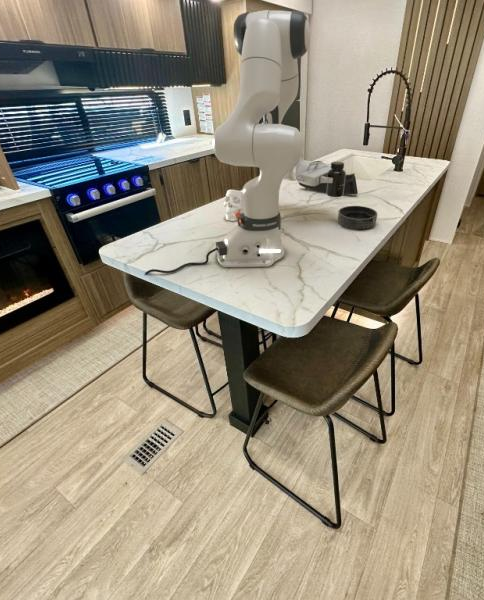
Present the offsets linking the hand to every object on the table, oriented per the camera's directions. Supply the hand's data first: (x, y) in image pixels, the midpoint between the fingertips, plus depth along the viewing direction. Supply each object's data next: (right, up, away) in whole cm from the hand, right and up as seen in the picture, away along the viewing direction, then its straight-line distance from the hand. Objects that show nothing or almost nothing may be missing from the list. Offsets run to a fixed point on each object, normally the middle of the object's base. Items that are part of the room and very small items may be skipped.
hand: (338, 178), depth 124 cm
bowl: (+8, -16, +7) cm, 19 cm away
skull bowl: (-41, -10, +15) cm, 45 cm away
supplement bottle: (-1, -5, +4) cm, 7 cm away
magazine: (0, +8, +40) cm, 41 cm away
